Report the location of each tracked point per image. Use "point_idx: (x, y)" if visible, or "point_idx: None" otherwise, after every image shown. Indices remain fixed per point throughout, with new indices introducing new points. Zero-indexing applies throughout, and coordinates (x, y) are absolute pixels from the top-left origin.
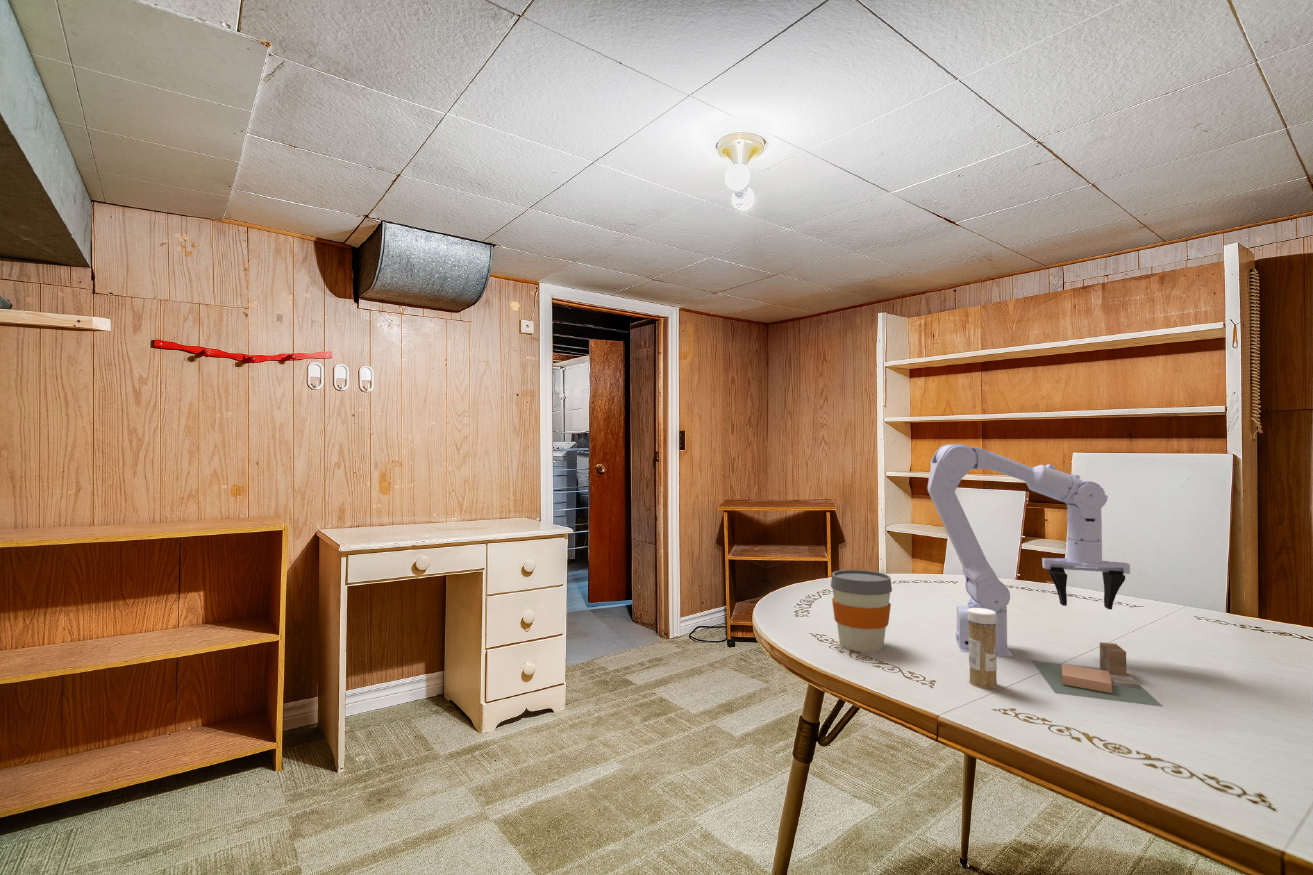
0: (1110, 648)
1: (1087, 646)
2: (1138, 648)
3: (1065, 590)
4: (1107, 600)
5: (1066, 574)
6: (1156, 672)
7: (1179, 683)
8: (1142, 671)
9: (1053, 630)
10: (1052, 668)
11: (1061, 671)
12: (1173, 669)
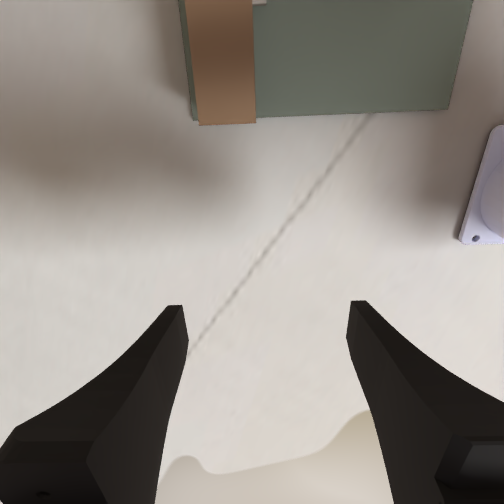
0: (236, 25)
1: (234, 318)
2: (127, 341)
3: (390, 347)
4: (173, 340)
5: (464, 436)
6: (109, 164)
7: (59, 76)
8: (142, 157)
9: (278, 399)
10: (414, 35)
11: (395, 9)
12: (68, 210)
